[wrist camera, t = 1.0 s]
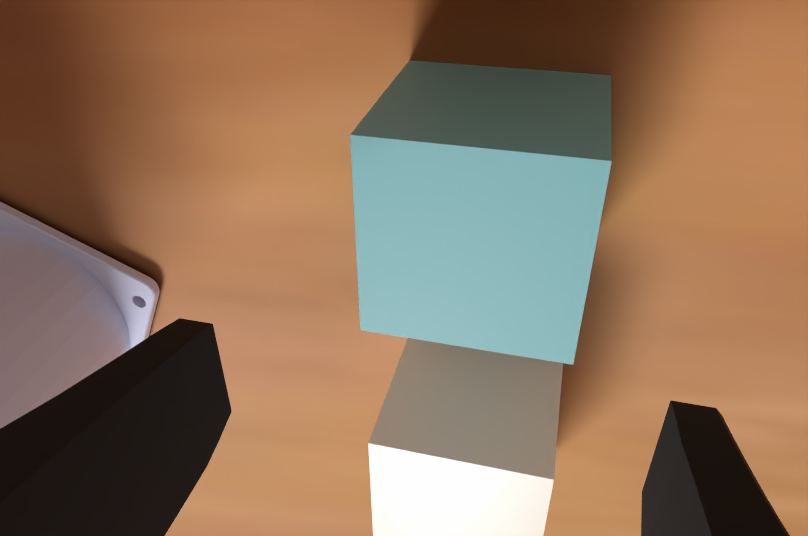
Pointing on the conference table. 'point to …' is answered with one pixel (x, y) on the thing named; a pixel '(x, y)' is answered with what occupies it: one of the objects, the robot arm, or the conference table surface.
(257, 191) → the conference table surface
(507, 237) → the teal block
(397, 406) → the cream block
